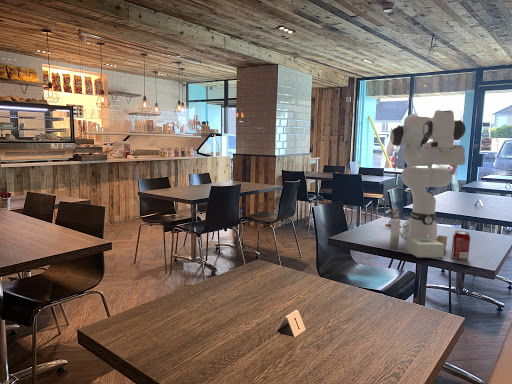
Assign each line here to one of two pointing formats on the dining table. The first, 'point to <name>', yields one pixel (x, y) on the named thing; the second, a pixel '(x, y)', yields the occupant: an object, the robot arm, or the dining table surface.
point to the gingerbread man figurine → (393, 217)
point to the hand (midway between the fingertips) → (442, 174)
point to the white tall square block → (394, 234)
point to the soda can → (460, 245)
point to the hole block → (424, 247)
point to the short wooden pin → (443, 241)
